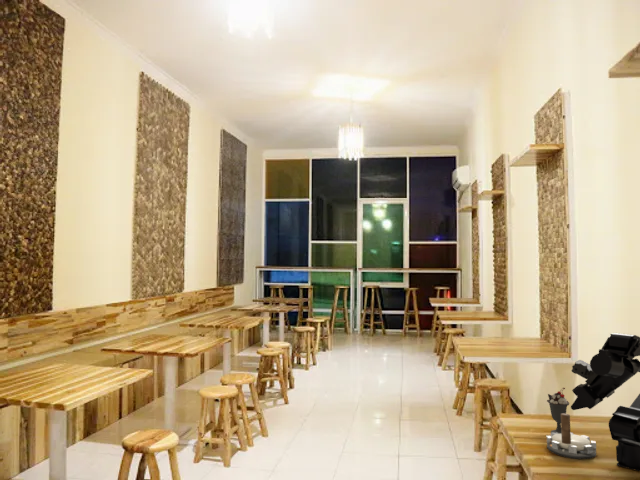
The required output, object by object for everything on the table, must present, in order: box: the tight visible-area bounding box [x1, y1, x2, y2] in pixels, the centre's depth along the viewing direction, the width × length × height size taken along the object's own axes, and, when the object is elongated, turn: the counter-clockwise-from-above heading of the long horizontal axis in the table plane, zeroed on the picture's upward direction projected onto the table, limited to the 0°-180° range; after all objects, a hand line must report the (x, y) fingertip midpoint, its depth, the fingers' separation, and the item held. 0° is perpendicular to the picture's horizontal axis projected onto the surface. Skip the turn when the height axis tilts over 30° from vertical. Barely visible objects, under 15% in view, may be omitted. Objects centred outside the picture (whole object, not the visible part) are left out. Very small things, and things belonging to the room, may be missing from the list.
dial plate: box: [546, 432, 597, 460], centre depth 144 cm, size 13×13×3 cm
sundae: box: [546, 387, 570, 434], centre depth 159 cm, size 7×7×15 cm
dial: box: [552, 413, 591, 451], centre depth 144 cm, size 10×10×10 cm
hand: (572, 408), depth 141 cm, fingers closed
